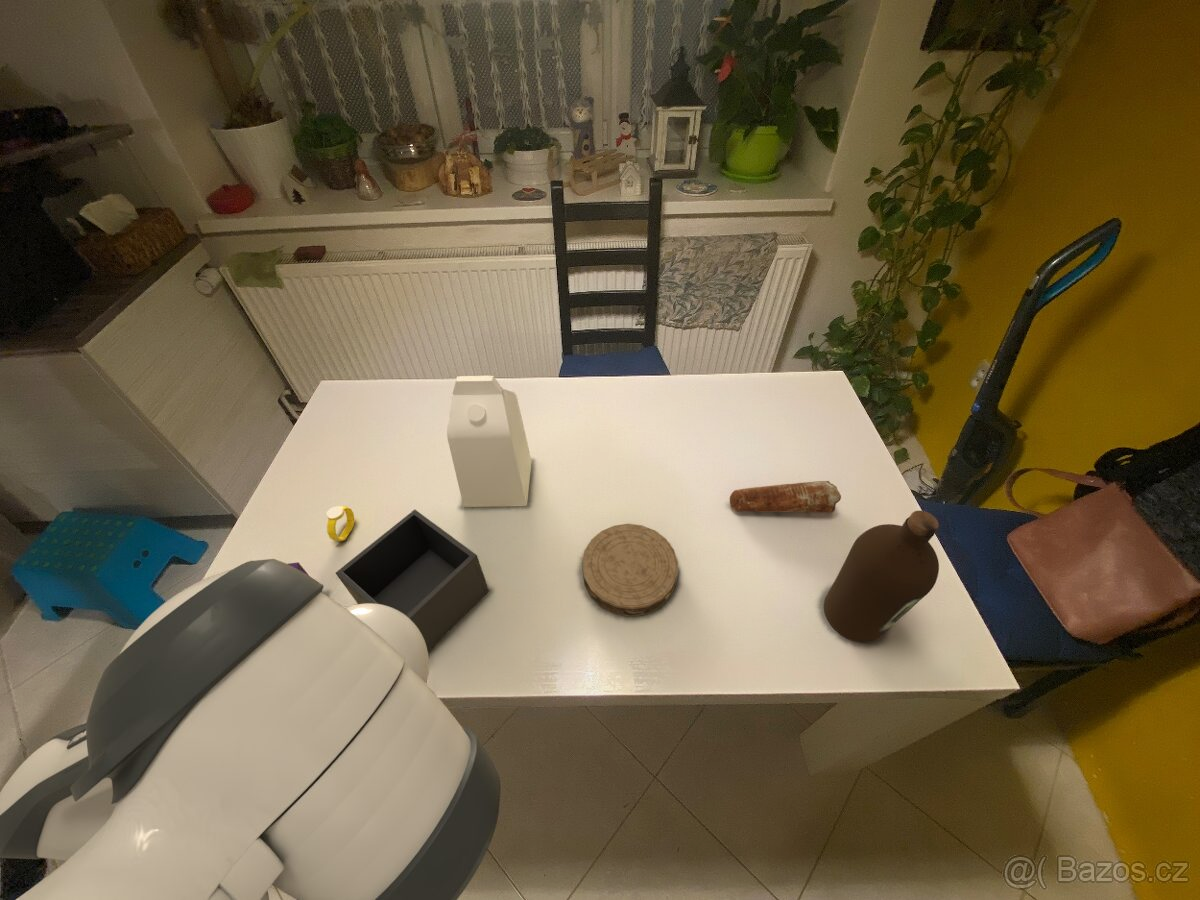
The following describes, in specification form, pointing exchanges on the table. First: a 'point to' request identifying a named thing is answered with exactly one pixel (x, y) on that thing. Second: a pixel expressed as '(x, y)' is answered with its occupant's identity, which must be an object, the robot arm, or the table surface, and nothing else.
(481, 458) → the milk
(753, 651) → the table surface
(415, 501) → the table surface
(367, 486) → the table surface
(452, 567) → the waste bin
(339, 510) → the watch
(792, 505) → the bread
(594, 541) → the wood slice coaster
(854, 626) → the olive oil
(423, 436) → the table surface
